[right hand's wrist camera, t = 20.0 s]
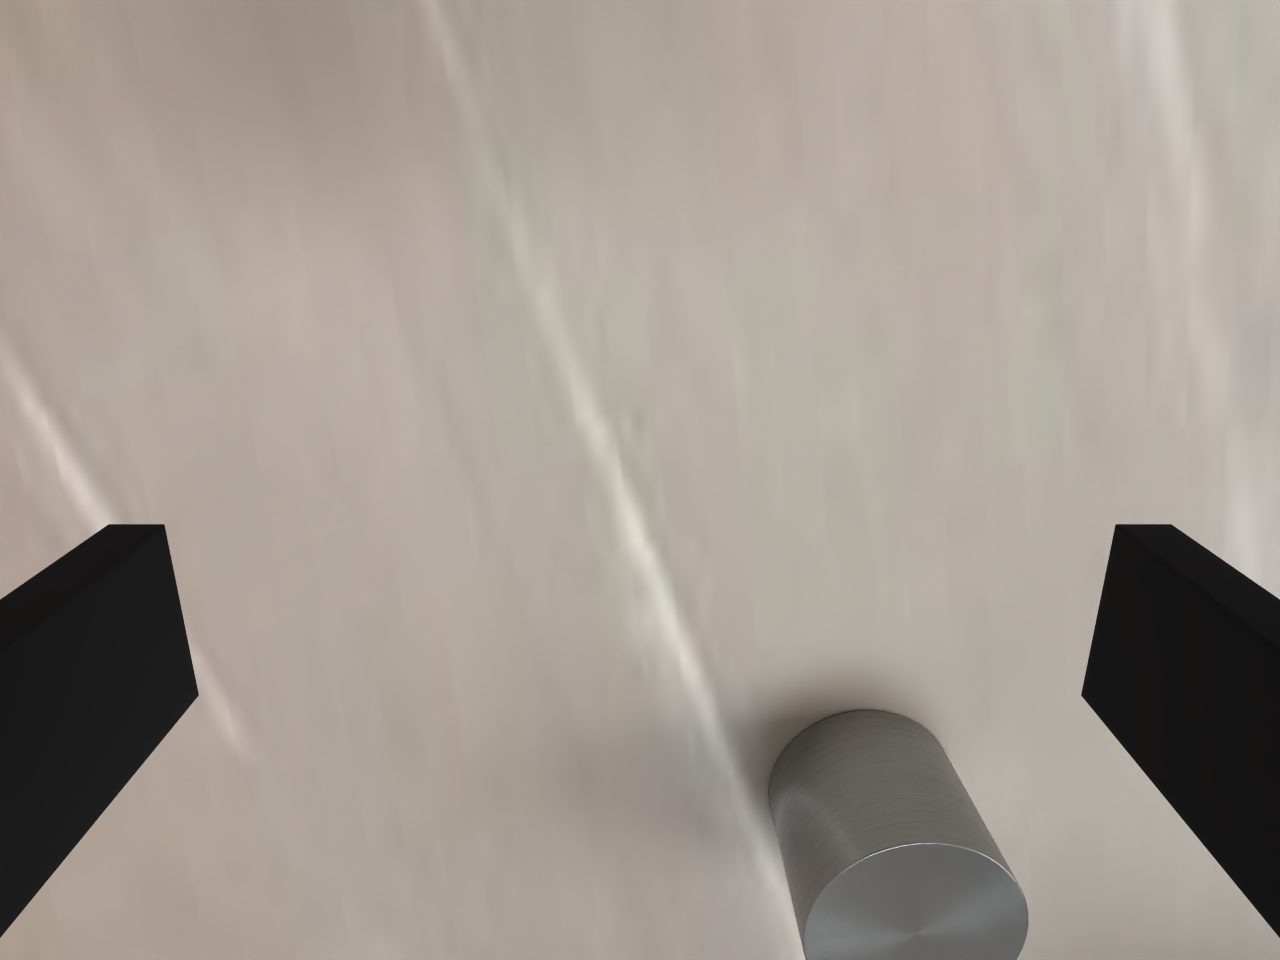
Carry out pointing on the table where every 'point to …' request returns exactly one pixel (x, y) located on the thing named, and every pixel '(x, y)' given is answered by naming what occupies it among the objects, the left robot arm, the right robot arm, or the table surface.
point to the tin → (889, 847)
